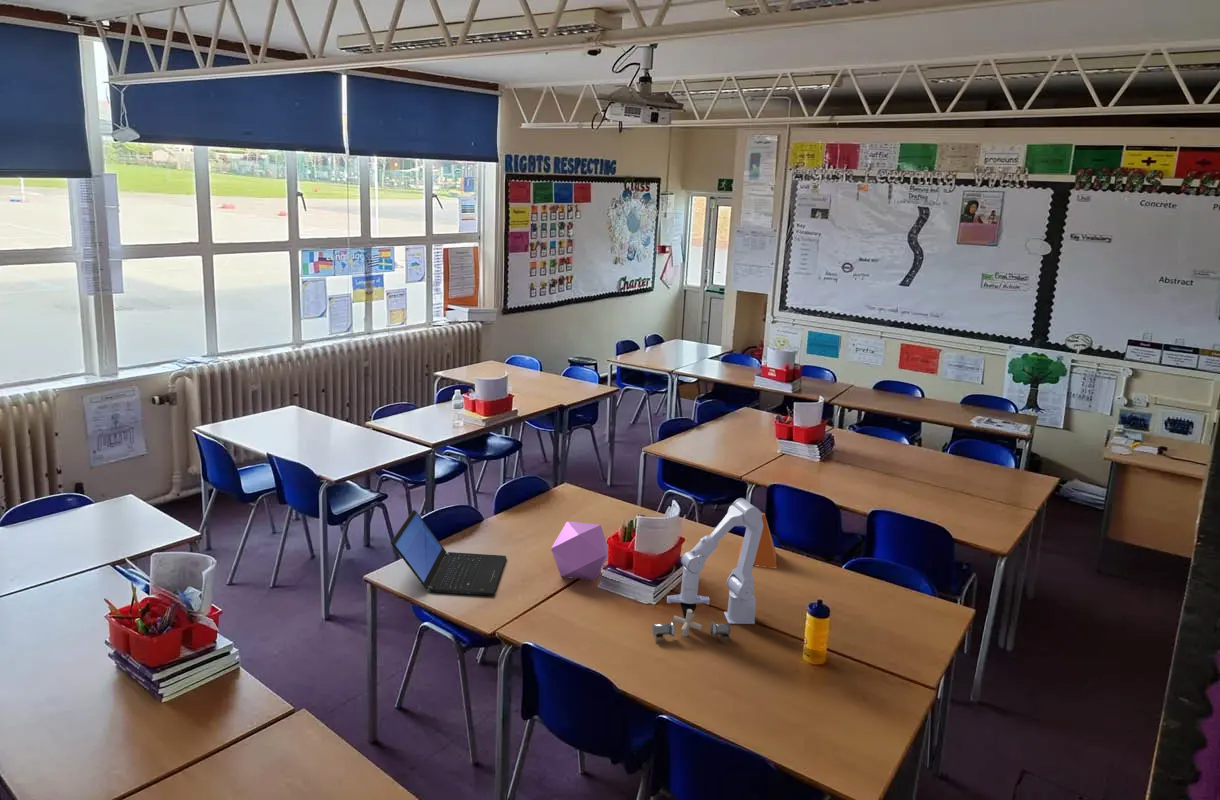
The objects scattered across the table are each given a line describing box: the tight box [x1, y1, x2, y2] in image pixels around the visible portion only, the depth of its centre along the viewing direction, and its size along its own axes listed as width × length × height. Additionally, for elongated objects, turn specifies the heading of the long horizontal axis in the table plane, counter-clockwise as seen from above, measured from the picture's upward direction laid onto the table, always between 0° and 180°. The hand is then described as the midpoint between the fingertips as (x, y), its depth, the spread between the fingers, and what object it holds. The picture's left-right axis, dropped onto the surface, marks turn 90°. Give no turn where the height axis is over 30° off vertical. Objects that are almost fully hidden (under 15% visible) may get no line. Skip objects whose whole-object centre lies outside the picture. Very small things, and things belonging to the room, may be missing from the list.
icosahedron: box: [550, 520, 609, 581], centre depth 327 cm, size 22×21×25 cm
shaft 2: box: [709, 621, 731, 644], centre depth 287 cm, size 6×5×6 cm
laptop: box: [390, 509, 507, 596], centre depth 321 cm, size 33×38×19 cm
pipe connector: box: [672, 609, 704, 637], centre depth 287 cm, size 10×10×10 cm
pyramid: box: [737, 512, 778, 569], centre depth 350 cm, size 16×16×20 cm
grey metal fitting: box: [651, 621, 676, 644], centre depth 285 cm, size 7×5×6 cm
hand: (685, 621), depth 295 cm, fingers closed, pressing on pipe connector
